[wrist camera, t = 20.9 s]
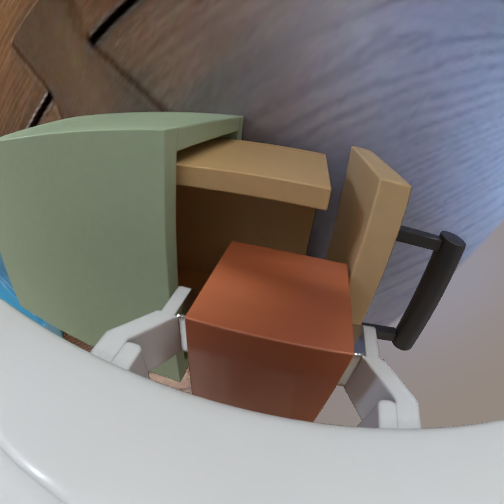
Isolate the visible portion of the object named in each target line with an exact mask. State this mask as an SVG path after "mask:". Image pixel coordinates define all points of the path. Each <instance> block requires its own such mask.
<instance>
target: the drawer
mask: <svg viewBox="0 0 504 504" xmlns="http://www.w3.org/2000/svg"><path fill="white" fill-rule="evenodd" d="M411 190H412V186H411V185H410V184H408V183H407V182H406V181H405V180H404V179H403V178H402V177H401V176H400V175H399V174H397V173H396V172H395V171H394V170H393V169H392V168H391V167H389V166H388V165H387V164H386V163H385V162H384V161H382V160H381V159H380V158H379V157H378V156H376V155H375V154H374V153H373V152H372V151H370V150H367V149H363V148H359V147H355V146H352V147H351V152H350V157H349V162H348V167H347V171H346V176H345V181H344V185H343V190H342V194H341V199H340V203H339V207H338V212H337V216H336V220H335V224H334V228H333V232H332V236H331V240H330V243H329V247H328V251H327V255H326V258H325V260H330V261H334V262H339V263H344V264H347V270H348V279H349V288H350V298H351V310H352V322H353V324H357V325H365V326H372V327H375V329H376V335H377V339H382V340H389V341H392V343H393V344H394V346H396V347H397V348H398V349H400V350H409V349H411V348H412V346H413V344H414V343H415V341H416V340H417V338H418V337H419V335H420V333H421V332H422V330H423V329H424V327H425V325H426V324H427V322H428V320H429V319H430V317H431V315H432V313H433V311H434V310H435V308H436V306H437V305H438V303H439V301H440V299H441V297H442V295H443V293H444V291H445V289H446V287H447V285H448V283H449V282H450V280H451V277H452V275H453V273H454V271H455V269H456V267H457V265H458V263H459V260H460V258H461V256H462V254H463V251H464V249H465V246H466V243H465V242H464V241H463V240H462V239H461V238H460V237H458V236H457V235H455V234H453V233H451V232H447V231H442V232H441V233H440V235H439V236H437V235H434V234H430V233H427V232H423V231H420V230H416V229H412V228H409V227H405V226H401V223H402V220H403V217H404V214H405V211H406V207H407V204H408V201H409V197H410V194H411ZM330 195H331V184H330V178H329V172H328V166H327V160H326V155H325V154H322V153H317V152H312V151H307V150H301V149H296V148H290V147H284V146H278V145H271V144H265V143H258V142H250V141H242V140H234V139H225V138H213V139H210V140H207V141H204V142H201V143H198V144H196V145H193V146H190V147H187V148H185V149H182V150H179V151H177V156H176V245H177V270H178V287H180V286H184V287H188V288H191V289H196V290H199V291H201V290H202V288H203V287H204V285H205V283H206V282H207V280H208V278H209V277H210V275H211V274H212V272H213V270H214V269H215V267H216V266H217V264H218V262H219V261H220V259H221V257H222V256H223V254H224V253H225V251H226V249H227V248H228V246H229V245H230V243H231V242H232V241H236V242H241V243H246V244H251V245H256V246H261V247H266V248H271V249H276V250H281V251H286V252H291V253H296V254H301V255H305V256H306V252H307V247H308V243H309V239H310V234H311V230H312V225H313V220H314V216H315V211H316V209H321V210H327V209H328V204H329V200H330ZM395 241H399V242H403V243H407V244H411V245H415V246H419V247H423V248H427V249H431V250H434V251H433V253H432V256H431V258H430V260H429V263H428V265H427V267H426V270H425V272H424V274H423V276H422V278H421V281H420V283H419V285H418V287H417V289H416V291H415V293H414V295H413V297H412V299H411V301H410V303H409V305H408V307H407V309H406V311H405V313H404V315H403V317H402V318H401V320H400V322H399V324H398V326H397V328H396V329H395V328H394V327H387V326H381V325H375V324H369V323H363V319H364V317H365V315H366V313H367V311H368V308H369V306H370V304H371V302H372V299H373V297H374V295H375V292H376V290H377V288H378V285H379V283H380V280H381V278H382V276H383V273H384V271H385V268H386V265H387V263H388V260H389V258H390V255H391V252H392V249H393V247H394V244H395ZM184 352H187V351H184ZM187 353H188V352H187Z"/></svg>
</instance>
